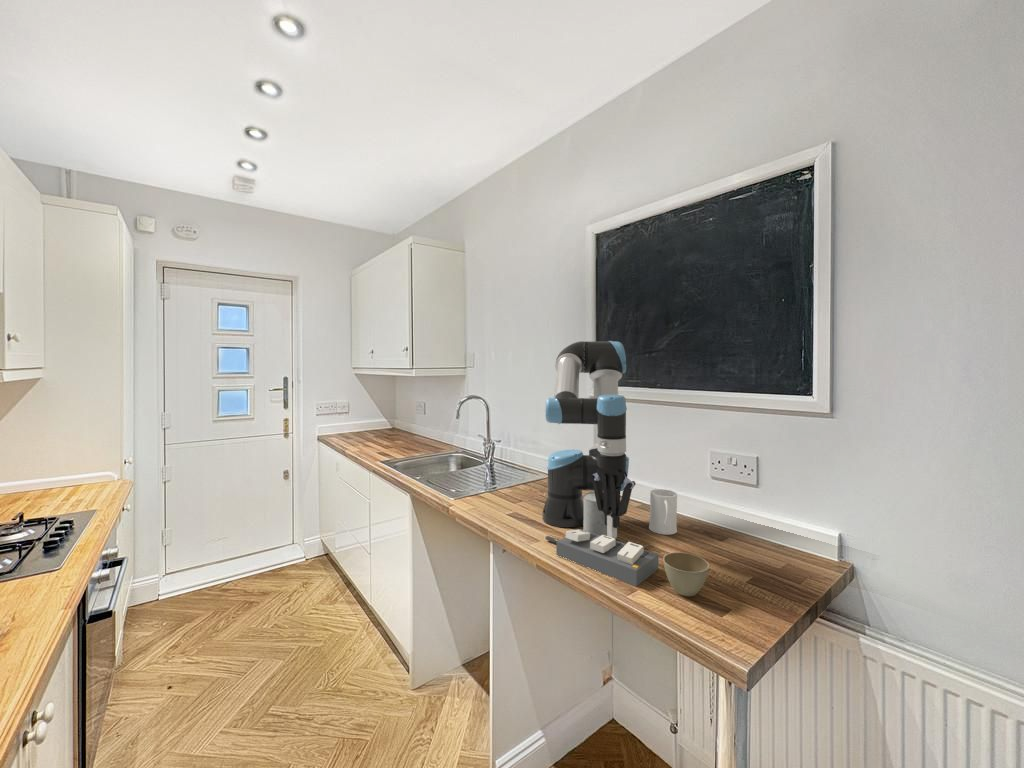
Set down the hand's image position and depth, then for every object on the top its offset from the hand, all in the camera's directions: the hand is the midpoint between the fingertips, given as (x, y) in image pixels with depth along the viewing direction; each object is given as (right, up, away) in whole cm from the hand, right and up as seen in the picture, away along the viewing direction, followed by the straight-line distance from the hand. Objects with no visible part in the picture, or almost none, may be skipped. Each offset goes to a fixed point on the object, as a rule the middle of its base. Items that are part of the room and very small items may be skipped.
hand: (612, 537), depth 119 cm
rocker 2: (-3, 0, -3) cm, 5 cm away
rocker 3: (+3, -1, -9) cm, 9 cm away
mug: (+21, -5, +19) cm, 29 cm away
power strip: (-5, -6, +1) cm, 8 cm away
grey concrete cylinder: (-1, -5, +16) cm, 17 cm away
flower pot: (+13, -7, -16) cm, 22 cm away
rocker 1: (-9, 0, +2) cm, 9 cm away
